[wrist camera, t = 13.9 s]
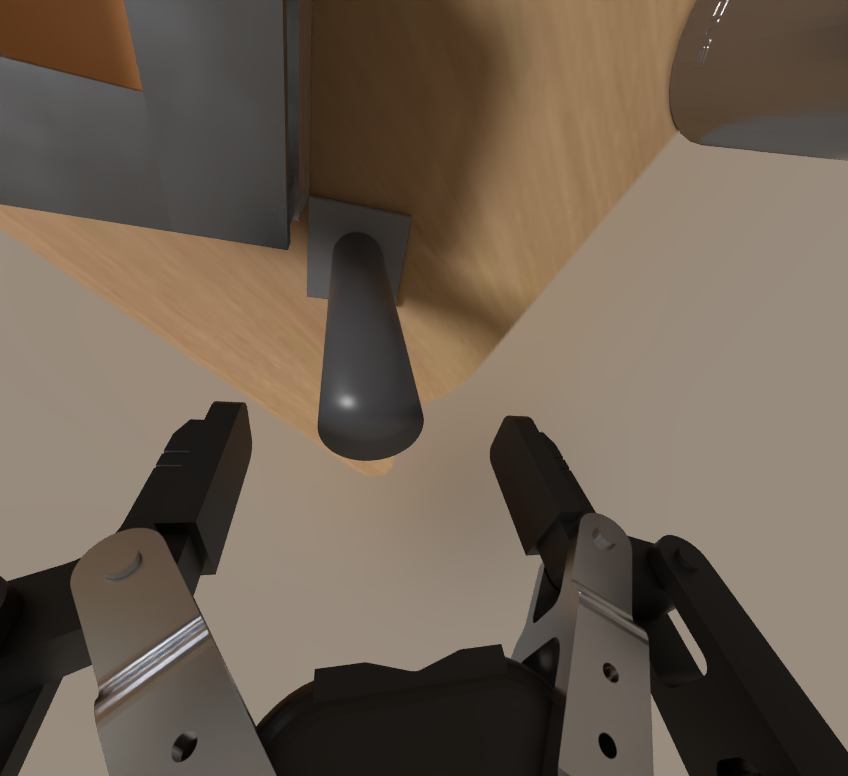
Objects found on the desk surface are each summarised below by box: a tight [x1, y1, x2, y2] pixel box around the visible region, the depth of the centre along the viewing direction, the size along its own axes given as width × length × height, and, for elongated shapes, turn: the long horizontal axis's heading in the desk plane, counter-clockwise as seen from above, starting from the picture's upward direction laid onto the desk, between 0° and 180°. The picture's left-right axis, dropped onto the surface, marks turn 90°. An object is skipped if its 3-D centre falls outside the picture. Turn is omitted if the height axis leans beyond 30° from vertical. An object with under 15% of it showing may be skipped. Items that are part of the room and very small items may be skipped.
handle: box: [318, 232, 424, 461], centre depth 16 cm, size 3×3×15 cm
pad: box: [307, 195, 412, 305], centre depth 22 cm, size 6×6×1 cm
